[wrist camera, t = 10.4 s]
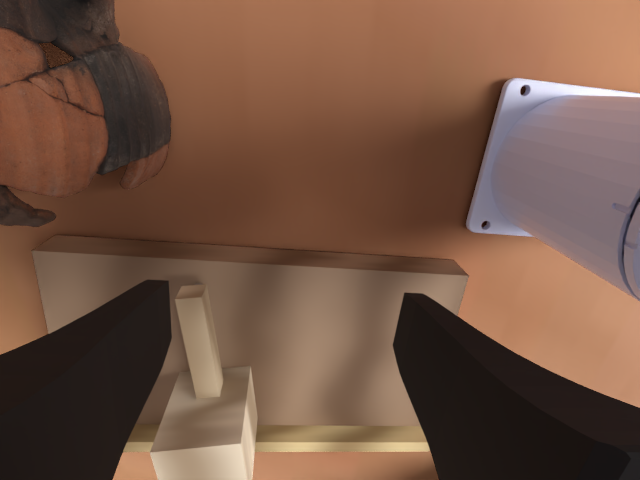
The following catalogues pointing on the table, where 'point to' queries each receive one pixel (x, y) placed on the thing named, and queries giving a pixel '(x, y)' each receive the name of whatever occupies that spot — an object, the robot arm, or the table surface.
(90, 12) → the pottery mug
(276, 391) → the walnut board
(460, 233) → the table surface
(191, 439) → the wooden mallet
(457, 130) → the table surface
